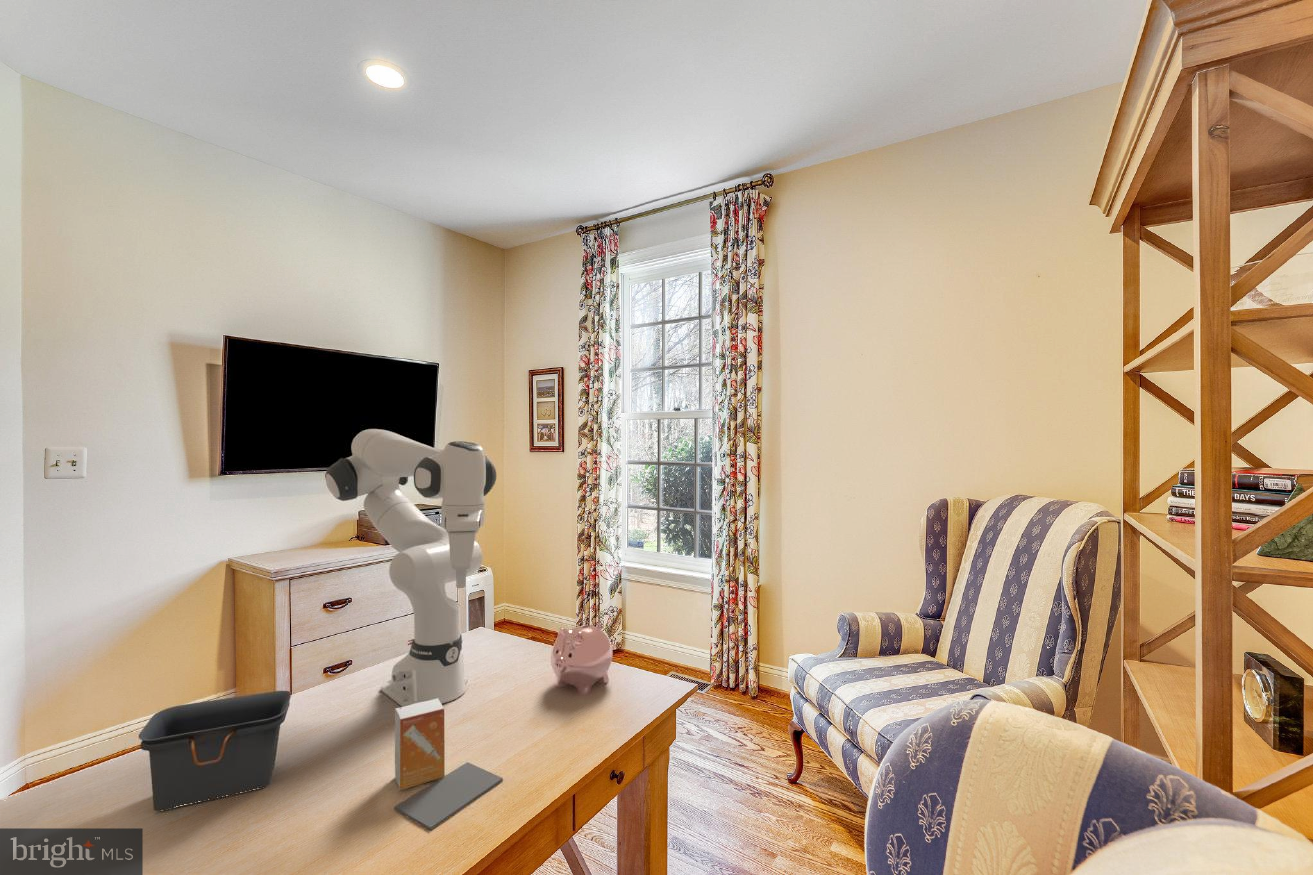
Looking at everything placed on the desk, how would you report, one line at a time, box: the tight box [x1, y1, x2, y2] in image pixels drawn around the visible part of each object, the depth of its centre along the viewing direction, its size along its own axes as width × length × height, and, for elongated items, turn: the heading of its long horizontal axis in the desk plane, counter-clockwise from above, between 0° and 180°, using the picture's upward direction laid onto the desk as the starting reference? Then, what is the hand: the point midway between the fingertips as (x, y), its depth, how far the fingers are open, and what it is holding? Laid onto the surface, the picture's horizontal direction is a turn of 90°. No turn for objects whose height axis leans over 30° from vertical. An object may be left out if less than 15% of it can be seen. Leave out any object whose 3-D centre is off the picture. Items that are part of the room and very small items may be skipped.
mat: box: [393, 761, 504, 831], centre depth 101 cm, size 10×16×1 cm, turn 149°
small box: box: [394, 698, 446, 791], centre depth 106 cm, size 8×6×13 cm
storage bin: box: [137, 690, 292, 812], centre depth 101 cm, size 21×16×14 cm
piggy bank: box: [550, 621, 613, 696], centre depth 148 cm, size 15×18×16 cm
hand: (461, 581), depth 118 cm, fingers open, 8 cm apart
